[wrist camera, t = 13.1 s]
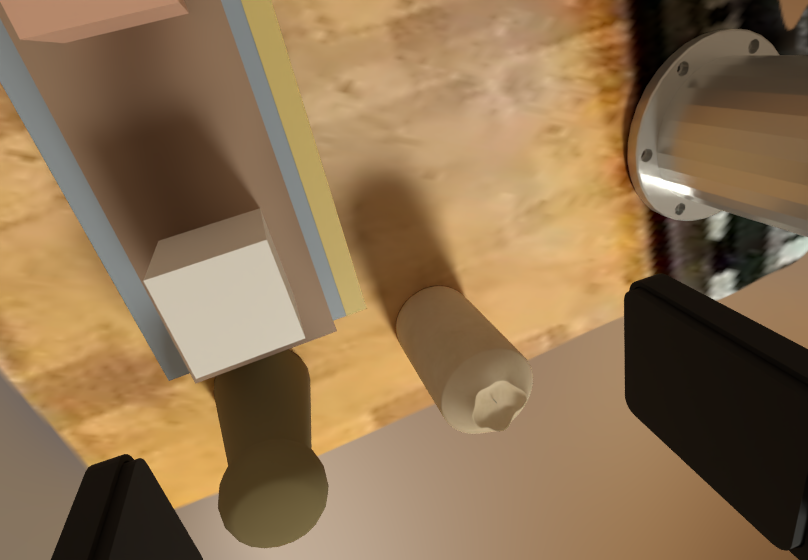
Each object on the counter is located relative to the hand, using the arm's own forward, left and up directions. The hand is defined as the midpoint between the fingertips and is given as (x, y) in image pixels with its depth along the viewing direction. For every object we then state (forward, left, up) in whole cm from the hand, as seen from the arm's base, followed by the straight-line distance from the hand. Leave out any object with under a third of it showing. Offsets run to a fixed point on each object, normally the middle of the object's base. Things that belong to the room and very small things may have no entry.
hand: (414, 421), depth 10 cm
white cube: (+4, +1, -13) cm, 14 cm away
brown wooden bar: (+4, -5, -18) cm, 19 cm away
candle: (-6, +12, -22) cm, 26 cm away
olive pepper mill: (+6, +12, -22) cm, 26 cm away
